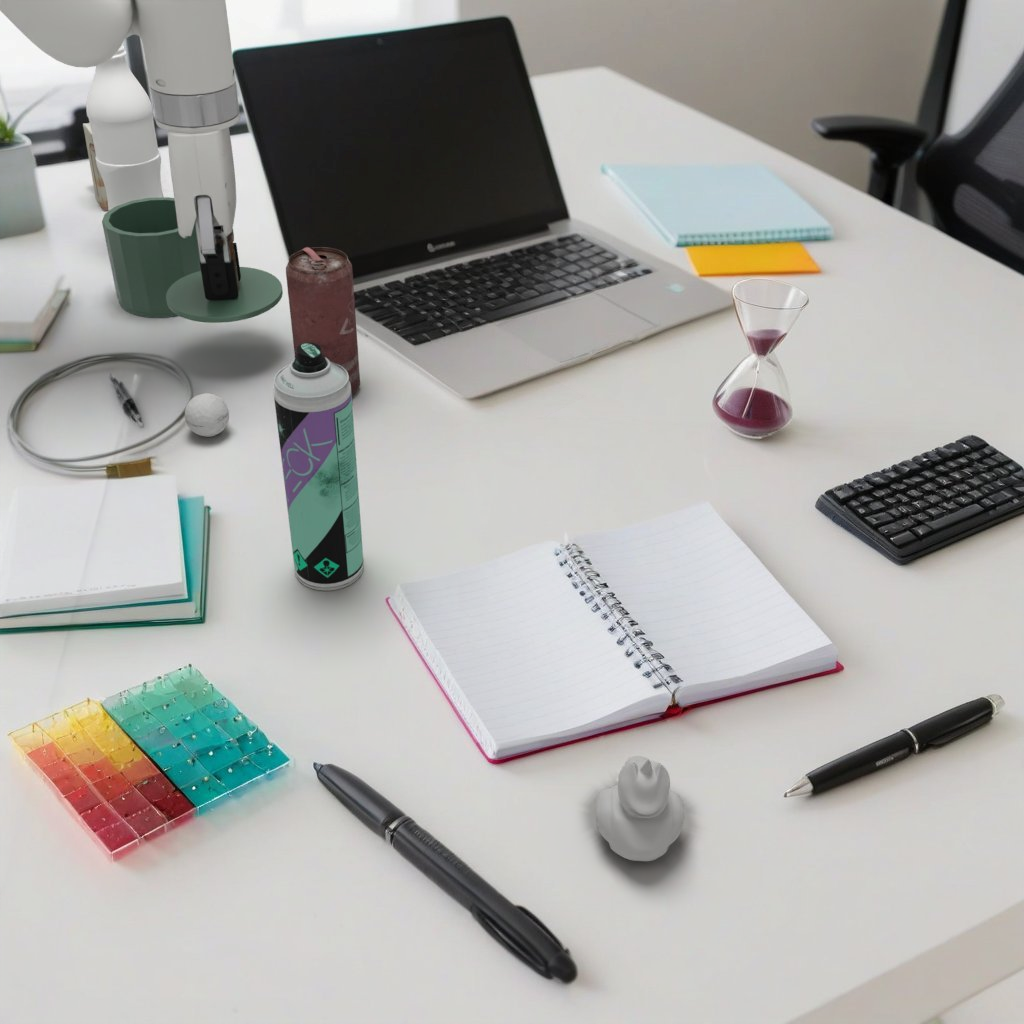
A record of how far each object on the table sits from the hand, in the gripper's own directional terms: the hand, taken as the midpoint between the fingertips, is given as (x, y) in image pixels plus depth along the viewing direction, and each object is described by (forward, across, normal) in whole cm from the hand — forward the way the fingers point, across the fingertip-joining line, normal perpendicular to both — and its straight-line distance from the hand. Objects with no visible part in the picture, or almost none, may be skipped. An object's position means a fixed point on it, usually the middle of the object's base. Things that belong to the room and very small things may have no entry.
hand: (223, 288), depth 115 cm
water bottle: (+8, -27, -12) cm, 31 cm away
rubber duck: (+8, +64, +29) cm, 71 cm away
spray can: (+8, +36, +10) cm, 38 cm away
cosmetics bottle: (+8, -42, -17) cm, 46 cm away
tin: (+7, -14, -8) cm, 18 cm away
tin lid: (+1, 0, 0) cm, 1 cm away
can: (+8, +8, +10) cm, 15 cm away
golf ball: (+8, +15, -1) cm, 17 cm away
